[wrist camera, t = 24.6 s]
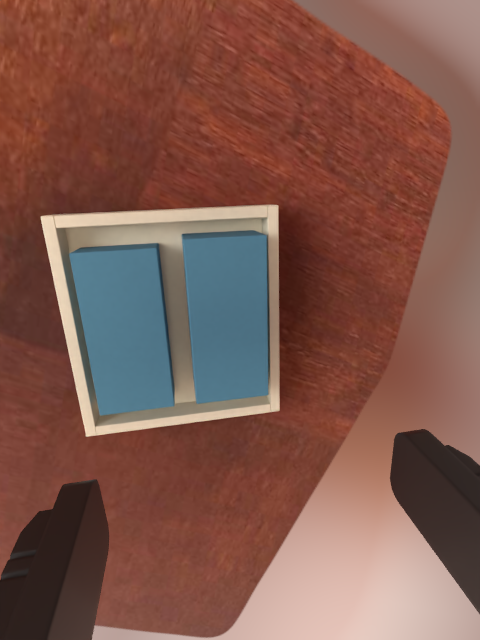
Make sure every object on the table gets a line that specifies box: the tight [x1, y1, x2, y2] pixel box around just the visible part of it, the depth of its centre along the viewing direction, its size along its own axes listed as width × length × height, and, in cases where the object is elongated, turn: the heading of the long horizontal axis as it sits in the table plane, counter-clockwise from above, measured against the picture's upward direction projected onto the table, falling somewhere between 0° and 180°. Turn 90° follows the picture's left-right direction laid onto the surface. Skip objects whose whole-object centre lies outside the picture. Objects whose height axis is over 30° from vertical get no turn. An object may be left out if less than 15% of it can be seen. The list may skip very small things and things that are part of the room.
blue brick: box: [69, 243, 175, 416], centre depth 27 cm, size 6×12×3 cm, turn 2°
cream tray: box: [41, 205, 280, 437], centre depth 28 cm, size 16×17×3 cm
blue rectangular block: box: [182, 230, 269, 404], centre depth 27 cm, size 6×12×4 cm, turn 2°
